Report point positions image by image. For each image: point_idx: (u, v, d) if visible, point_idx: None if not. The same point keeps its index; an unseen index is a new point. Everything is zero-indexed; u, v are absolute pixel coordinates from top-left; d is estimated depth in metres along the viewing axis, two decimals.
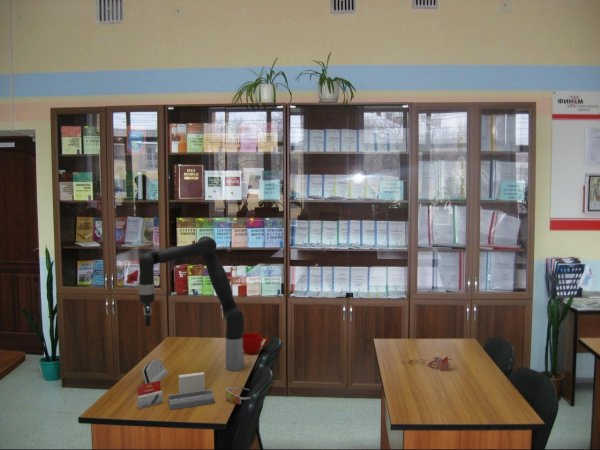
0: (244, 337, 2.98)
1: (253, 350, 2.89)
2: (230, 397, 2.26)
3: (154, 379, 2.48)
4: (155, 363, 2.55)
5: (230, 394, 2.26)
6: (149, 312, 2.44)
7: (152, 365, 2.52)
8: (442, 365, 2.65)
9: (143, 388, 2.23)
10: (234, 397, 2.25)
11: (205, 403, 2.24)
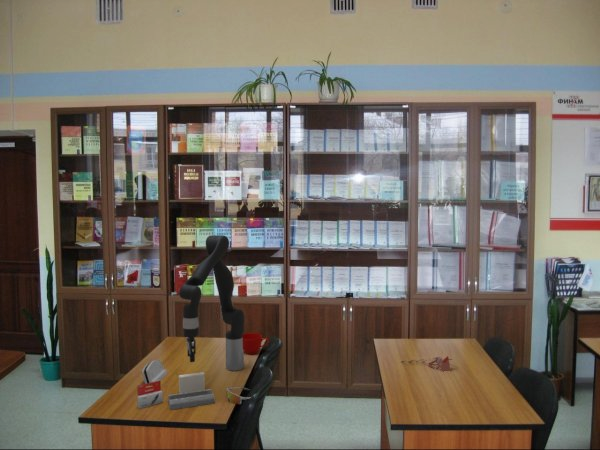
0: (244, 337, 2.98)
1: (253, 350, 2.89)
2: (230, 397, 2.26)
3: (154, 379, 2.48)
4: (155, 363, 2.55)
5: (230, 394, 2.26)
6: (194, 347, 2.31)
7: (152, 365, 2.51)
8: (443, 365, 2.65)
9: (143, 388, 2.23)
10: (234, 397, 2.25)
11: (205, 403, 2.24)
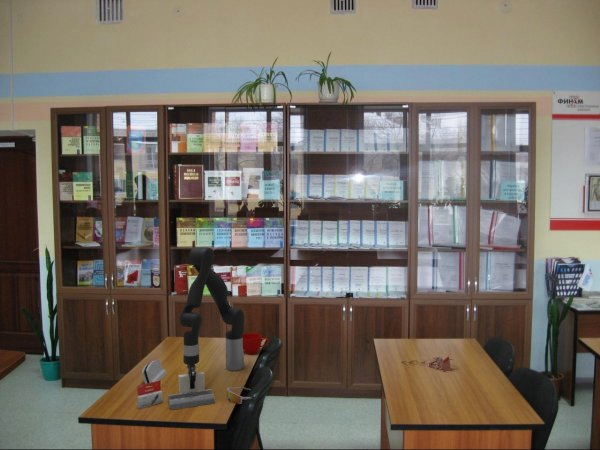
0: (244, 337, 2.98)
1: (253, 350, 2.89)
2: (231, 397, 2.26)
3: (154, 379, 2.48)
4: (154, 363, 2.54)
5: (231, 394, 2.26)
6: (194, 377, 2.34)
7: (151, 365, 2.51)
8: (444, 365, 2.65)
9: (143, 388, 2.23)
10: (235, 397, 2.25)
11: (205, 403, 2.24)
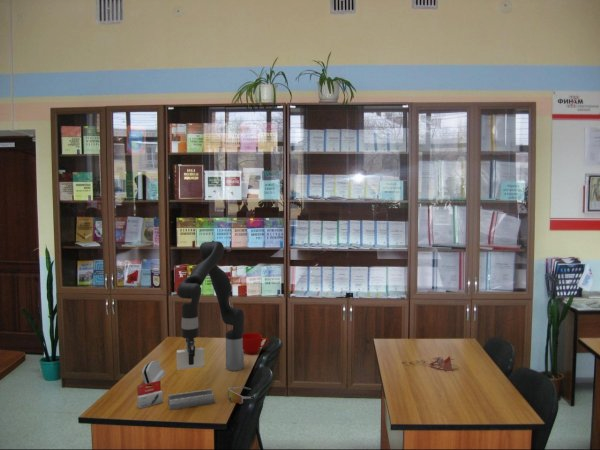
0: (244, 337, 2.98)
1: (253, 350, 2.89)
2: (232, 396, 2.27)
3: (154, 380, 2.47)
4: (153, 364, 2.54)
5: (232, 393, 2.27)
6: (193, 351, 2.20)
7: (151, 366, 2.50)
8: (445, 365, 2.64)
9: (143, 388, 2.23)
10: (236, 396, 2.25)
11: (205, 403, 2.24)
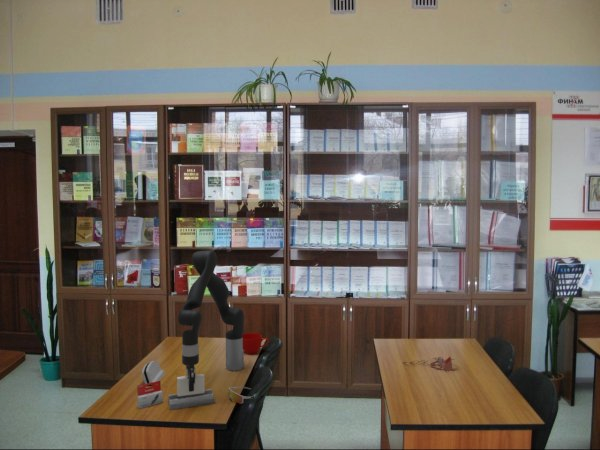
0: (244, 337, 2.98)
1: (253, 350, 2.89)
2: (233, 396, 2.27)
3: (154, 380, 2.47)
4: (153, 364, 2.53)
5: (233, 393, 2.27)
6: (193, 378, 2.21)
7: (151, 366, 2.50)
8: (446, 365, 2.64)
9: (143, 388, 2.23)
10: (237, 396, 2.25)
11: (205, 403, 2.24)
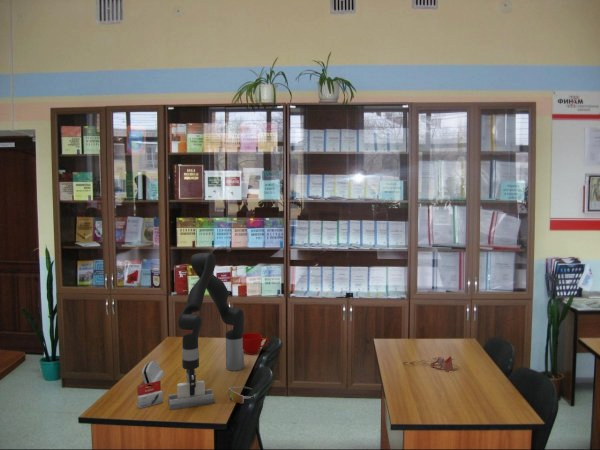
0: (244, 337, 2.98)
1: (253, 350, 2.89)
2: (233, 396, 2.27)
3: (154, 380, 2.47)
4: (153, 364, 2.53)
5: (233, 393, 2.27)
6: (194, 381, 2.20)
7: (151, 366, 2.50)
8: (446, 365, 2.64)
9: (143, 388, 2.23)
10: (237, 396, 2.26)
11: (205, 403, 2.24)
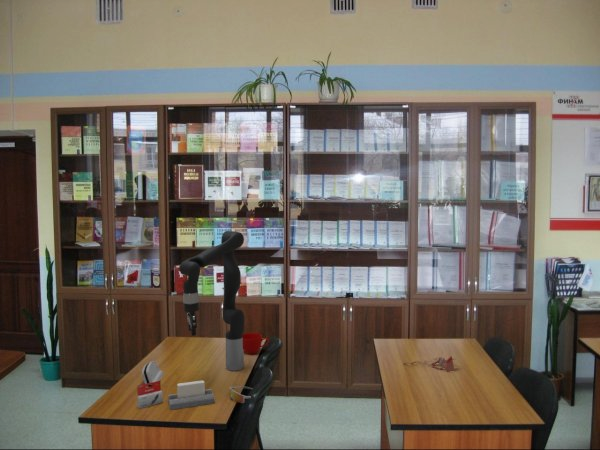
0: (244, 337, 2.98)
1: (253, 350, 2.89)
2: (234, 396, 2.27)
3: (154, 380, 2.46)
4: (152, 365, 2.53)
5: (234, 393, 2.27)
6: (195, 321, 2.38)
7: (150, 367, 2.49)
8: (447, 365, 2.64)
9: (143, 388, 2.23)
10: (238, 396, 2.26)
11: (205, 403, 2.24)
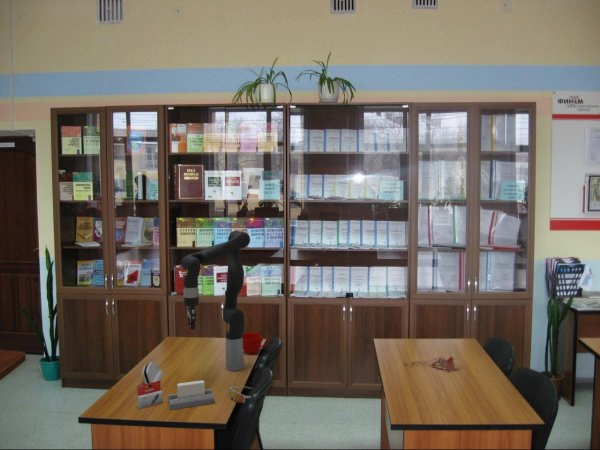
0: (244, 337, 2.98)
1: (253, 350, 2.89)
2: (234, 396, 2.27)
3: (154, 381, 2.46)
4: (152, 365, 2.52)
5: (234, 393, 2.27)
6: (194, 315, 2.42)
7: (150, 367, 2.49)
8: (448, 365, 2.64)
9: (143, 388, 2.23)
10: (238, 396, 2.26)
11: (205, 403, 2.24)
